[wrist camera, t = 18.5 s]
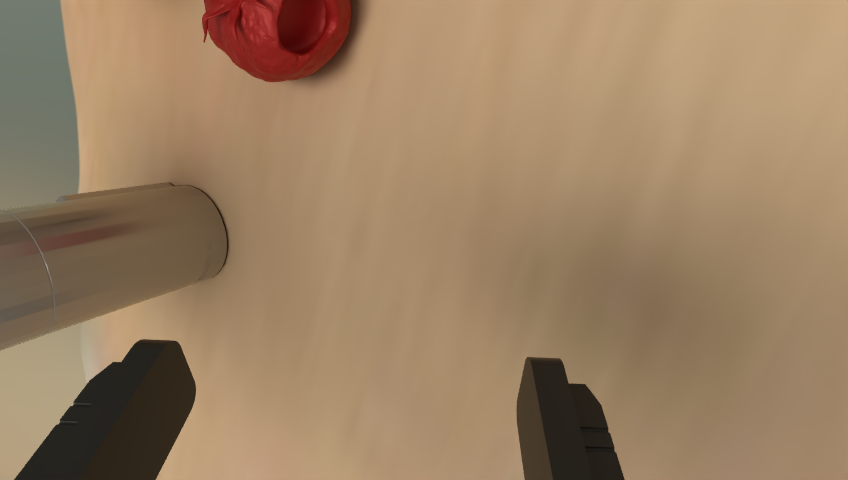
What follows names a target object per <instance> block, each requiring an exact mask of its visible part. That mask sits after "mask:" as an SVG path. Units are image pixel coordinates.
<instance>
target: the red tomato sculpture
mask: <svg viewBox="0 0 848 480" xmlns="http://www.w3.org/2000/svg"><path fill="white" fill-rule="evenodd" d="M204 3H205V9H206V13H205V14H204V15H203V17H202V24H203V30H204V34H205V36H204V42H205V39H206V36H207V30H208V31H209V35H210V37H211V39H212V41H213V42H214V44H215V45H216V46H217V47H218V48H220V49H221V50H223V51H224V52H225V53H226V54H227V55H228V56H229V57H230V58H231V60H232V61H233V63H235V64H236V65H237V66H238V67H240V68H241V69H243V70H245V71H246V72H247V73H249V74H250V75H252V76H254V77H256V78H259V79H262V80H264V81H267V82H281V81H287V80H296V79H299V78H303V77H306V76H309V75H311V74H313V73H315V72H316V71H317V70H319V69H320V68H321V67H323V66H324V64H325V63H327V62H328V61H329V60H330V59H331V58H332V57H333V56H334V55H335V54H336V53H337V51H338V50H339V48H340V47H341V46H342V45H343V43H344V41H345V39H346V37H347V34H348V31H349V26H350V20H351V3H350V0H204Z"/></svg>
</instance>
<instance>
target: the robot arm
mask: <svg viewBox="0 0 848 480" xmlns="http://www.w3.org/2000/svg"><path fill="white" fill-rule="evenodd" d="M226 252H227V238H226V232H225V227H224V224H223V221H222V218H221V216H220V214H219V212H218V210H217V208H216V207H215V205H214V204H213V202H212V201H211V200H210V199H209V198H208V197H207V196H206V195H205V194H204V193H203V192H201V191H200V190H199V189H197V188H194V187H192V186H186V185H182V186H172V185H171V184H170V183H160V184H152V185H144V186H136V187H128V188H120V189H112V190H104V191H96V192H88V193H80V194H73V195H65V196H61V197H59V198H58V199H57V200H56V202H55V203H47V204H39V205H32V206H24V207H17V208H9V209H2V210H0V350H3V349H6V348H9V347H12V346H15V345H17V344H21V343H23V342H26V341H29V340H32V339H35V338H38V337H41V336H43V335H46V334H49V333H52V332H55V331H58V330H61V329H63V328H67V327H69V326H72V325H75V324H78V323H81V322H84V321H87V320H90V319H93V318H96V317H99V316H101V315H104V314H107V313H110V312H113V311H116V310H119V309H122V308H125V307H128V306H130V305H133V304H136V303H139V302H142V301H145V300H148V299H151V298H154V297H157V296H160V295H162V294H165V293H168V292H171V291H174V290H177V289H180V288H183V287H186V286H188V285H191V284H194V283H197V282H200V281H203V280H206V279H208V278H211V277H213V276H215V275H216V274H217V273H218V272H219V271H220V269H221V268H222V267H223V264H224V261H225V258H226ZM195 395H196V385H195V381H194V379H193V376H192V374H191V371H190V368H189V366H188V363H187V361H186V358H185V356H184V353H183V351H182V348H181V346H180V344H179V343H178V342H177V341H169V340H146V339H143V340H139V341H138V342H136V343H135V344H134V345H133V347H132V348H131V349H130V351H129V352H128V354H127V355H126V356H125V358H124V359H123V360H122V362H113V363H111V364H110V365H109V366H108V367H106V368H105V369H104V370H103V371H101V372H100V373H99V374H97V375H96V376H95V377H94V378H92V379H91V380H90V381H89V382H88V384H87V385H86V386H85V388H84V389H83V390H82V392H81V393H80V394H79V395H78V397H77V398H76V399H75V401H74V405H73V406H70V408H69V409H68V410H67V411H66V413H65V414H64V415H63V416H62V418H61V419H60V423H59V424H58V425H56V426H55V427H54V428H53V430H52V431H51V432H50V434H49V435H48V436H47V437H46V439H45V440H44V441H43V443H42V444H41V445H40V447H39V448H38V449H37V451H36V452H35V453H34V454H33V456H32V457H31V459H30V460H29V461H28V462H27V464H26V465H25V467H24V468H23V469H22V470H21V472H20V473H19V474H18V476H17V477H16V478H15V479H14V480H156V478H157V476H158V474H159V472H160V470H161V468H162V466H163V464H164V462H165V460H166V458H167V456H168V454H169V452H170V451H171V449H172V447H173V445H174V443H175V441H176V439H177V437H178V435H179V433H180V431H181V429H182V427H183V425H184V423H185V421H186V419H187V417H188V415H189V414H190V412H191V409H192V407H193V404H194V401H195ZM517 426H518V433H519V441H520V448H521V455H522V462H523V469H524V477H525V480H624V476H623V473H622V470H621V467H620V464H619V461H618V457H617V454H616V453H615V451H614V445H613V441H612V438H611V435H610V433H609V432H608V426H607V422H606V419H605V416H604V413H603V410H602V406H601V404H600V403H599V402H598V400H597V399H596V398H595V396H594V395H593V394H592V392H591V391H590V390H589V389H588V387H587V386H586V385H585V384H568V380H567V376H566V372H565V368H564V365H563V362H562V360H561V359H558V358H535V357H527V358H526V361H525V365H524V370H523V375H522V379H521V384H520V389H519V394H518V399H517Z"/></svg>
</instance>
